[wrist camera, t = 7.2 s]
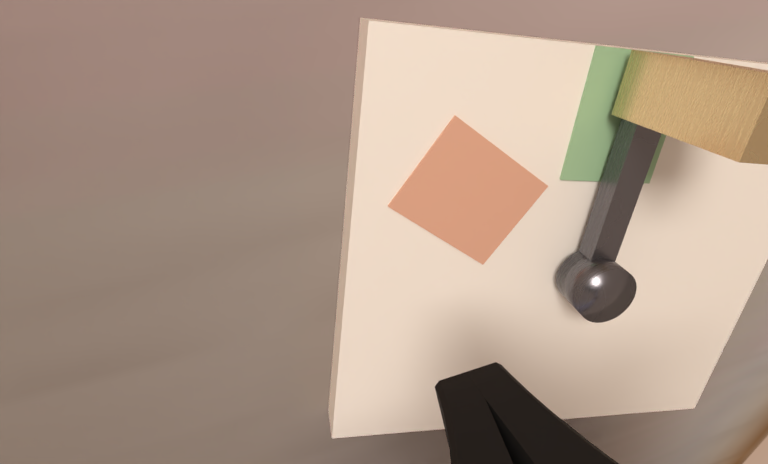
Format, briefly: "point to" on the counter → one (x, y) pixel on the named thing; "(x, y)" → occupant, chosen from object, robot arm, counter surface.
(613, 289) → the wooden handled crank
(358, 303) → the board
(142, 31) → the counter surface
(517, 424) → the robot arm
